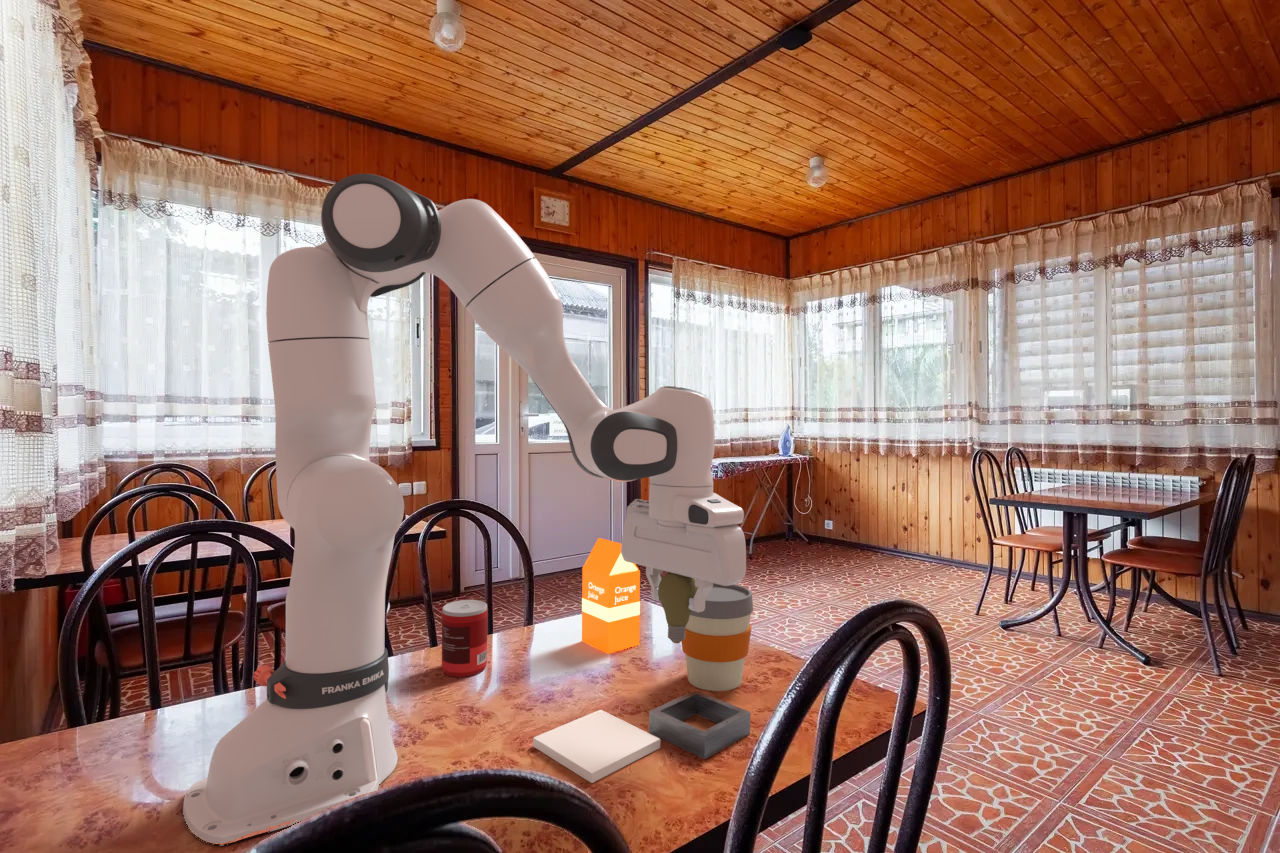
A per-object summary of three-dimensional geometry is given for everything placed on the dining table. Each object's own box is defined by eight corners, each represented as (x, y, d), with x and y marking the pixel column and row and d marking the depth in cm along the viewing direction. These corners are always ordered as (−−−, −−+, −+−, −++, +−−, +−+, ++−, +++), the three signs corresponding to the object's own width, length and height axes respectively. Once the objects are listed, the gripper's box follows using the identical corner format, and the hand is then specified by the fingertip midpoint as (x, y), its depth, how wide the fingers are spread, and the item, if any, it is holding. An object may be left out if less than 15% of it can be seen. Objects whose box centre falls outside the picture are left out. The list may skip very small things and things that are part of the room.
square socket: (704, 759, 83) (704, 736, 83) (649, 732, 90) (649, 710, 90) (749, 733, 90) (750, 712, 90) (695, 709, 97) (695, 690, 97)
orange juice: (612, 633, 132) (613, 535, 131) (640, 645, 125) (641, 542, 124) (580, 641, 127) (581, 539, 126) (607, 654, 120) (608, 547, 119)
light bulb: (697, 637, 92) (699, 566, 92) (696, 650, 86) (699, 576, 86) (657, 634, 92) (660, 564, 92) (654, 648, 87) (657, 573, 87)
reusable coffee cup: (672, 692, 104) (674, 599, 103) (681, 662, 116) (682, 579, 116) (752, 699, 101) (753, 604, 101) (752, 668, 114) (753, 583, 114)
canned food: (483, 658, 117) (484, 597, 117) (490, 674, 110) (490, 610, 110) (439, 663, 115) (440, 601, 114) (443, 680, 107) (443, 614, 107)
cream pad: (591, 783, 78) (592, 773, 78) (533, 746, 86) (533, 737, 86) (660, 747, 86) (660, 738, 86) (600, 717, 95) (600, 709, 95)
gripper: (612, 498, 94) (609, 593, 94) (724, 515, 80) (721, 627, 80) (643, 496, 99) (640, 586, 99) (754, 511, 84) (751, 617, 84)
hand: (677, 605), depth 89 cm, fingers closed on light bulb, 5 cm apart
